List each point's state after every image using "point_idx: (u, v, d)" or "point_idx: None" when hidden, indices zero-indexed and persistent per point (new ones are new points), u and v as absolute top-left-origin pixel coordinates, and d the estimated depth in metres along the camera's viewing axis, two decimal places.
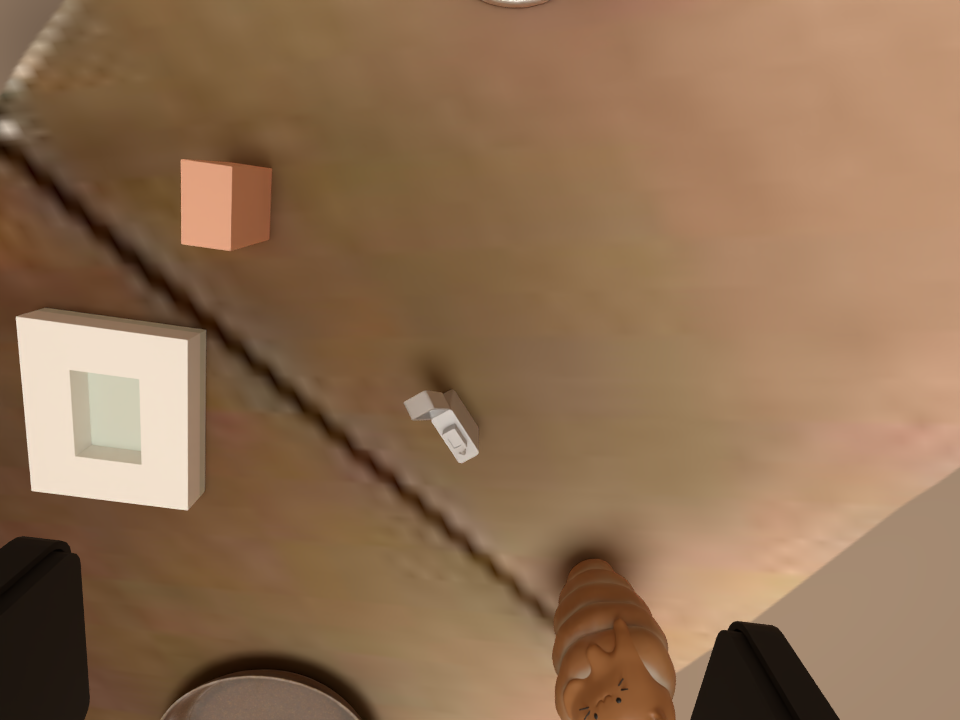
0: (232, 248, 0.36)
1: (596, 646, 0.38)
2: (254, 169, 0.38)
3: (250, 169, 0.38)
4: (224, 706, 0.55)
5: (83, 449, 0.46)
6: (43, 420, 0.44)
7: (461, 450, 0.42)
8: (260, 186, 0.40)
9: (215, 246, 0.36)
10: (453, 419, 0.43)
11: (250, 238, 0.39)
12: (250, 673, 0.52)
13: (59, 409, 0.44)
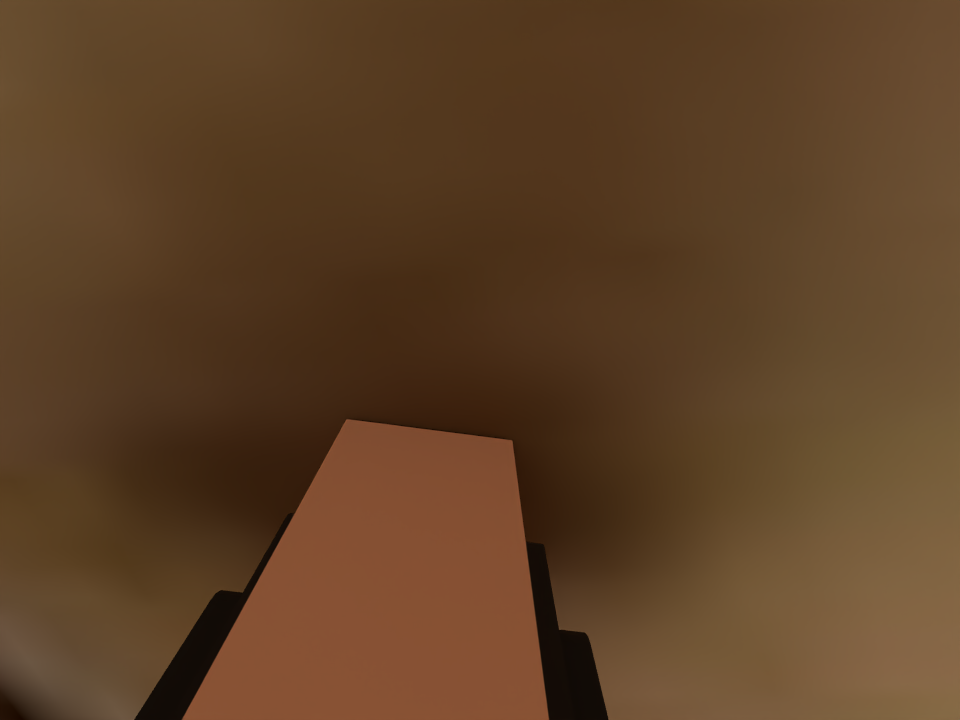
0: None
1: None
2: None
3: (529, 602, 0.07)
4: None
5: None
6: None
7: None
8: None
9: None
10: None
11: None
12: None
13: None
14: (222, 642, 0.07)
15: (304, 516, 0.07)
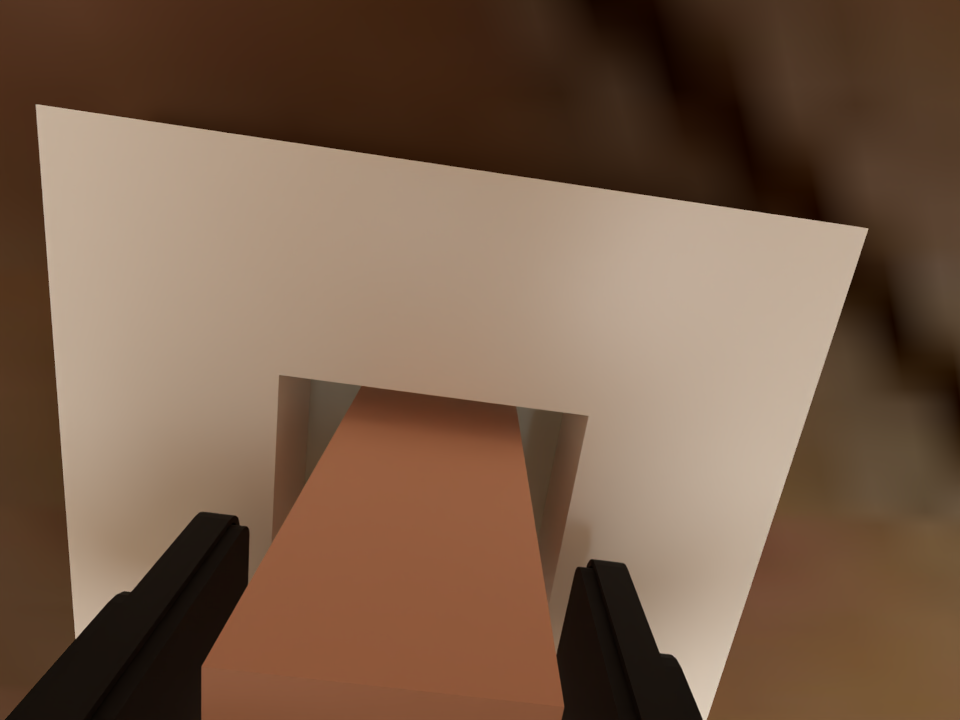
0: None
1: None
2: None
3: (532, 525, 0.08)
4: None
5: None
6: None
7: None
8: None
9: None
10: None
11: None
12: None
13: None
14: (93, 645, 0.06)
15: (332, 455, 0.08)
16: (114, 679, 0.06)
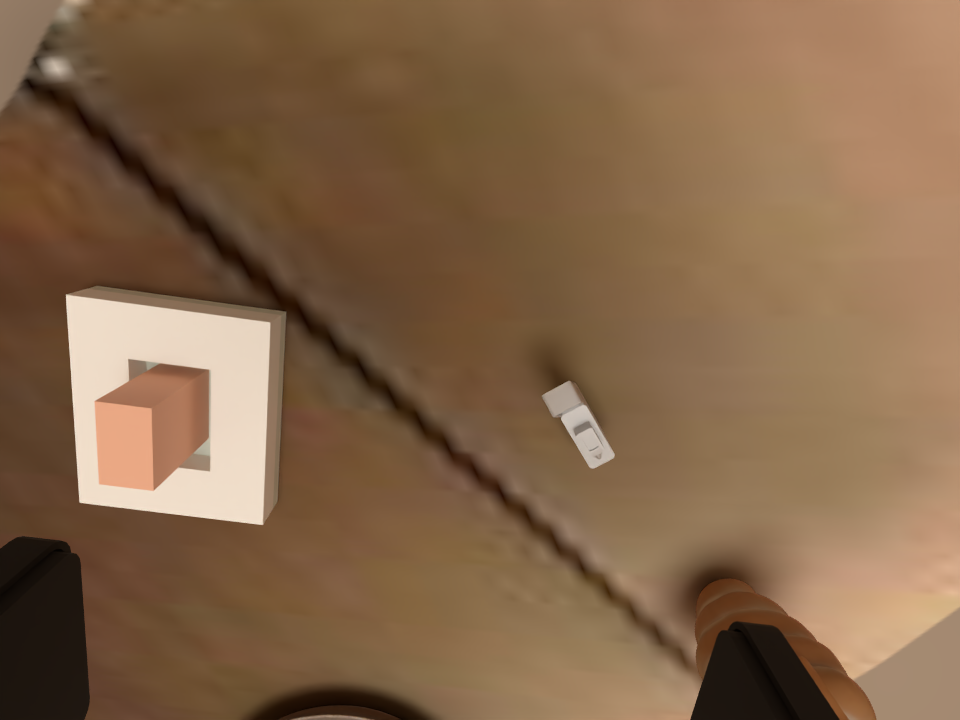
0: (156, 486, 0.33)
1: None
2: (184, 387, 0.35)
3: (178, 392, 0.34)
4: None
5: None
6: None
7: (598, 452, 0.35)
8: (193, 397, 0.36)
9: (136, 486, 0.33)
10: (587, 416, 0.36)
11: (180, 457, 0.36)
12: (325, 711, 0.45)
13: None
14: None
15: (137, 377, 0.35)
16: None
